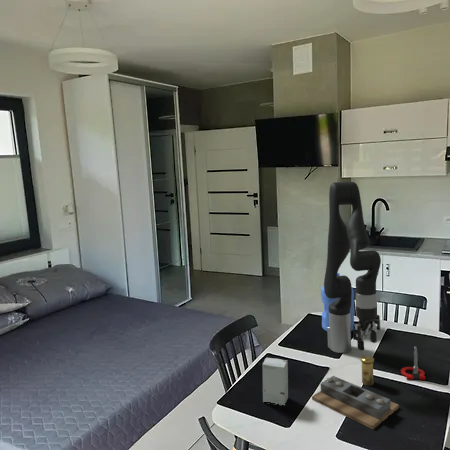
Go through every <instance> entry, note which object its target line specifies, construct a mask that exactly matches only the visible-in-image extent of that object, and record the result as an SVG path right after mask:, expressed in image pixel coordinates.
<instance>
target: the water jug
mask: <svg viewBox="0 0 450 450" xmlns="http://www.w3.org/2000/svg"><path fill="white" fill-rule="evenodd" d="M340 274H341V273H340V272H338V273H337V276H341V275H340ZM320 297H321V303H322V304H323V312H322V314H321V328H322V329H323V330H324V331H325V332H327V328H328V327H329V305H330V304H331V303H333V302H334V301H335V300H337V298H333V299H330V298H328V297H327V296H326V295H325V292H324V285H322V286H321V287H320ZM354 297H355V296H354V288H353V287H352V297H351V308H350V320H351V332H353V325H354V324H355V317H354V316H355V307H354V306H355V305H354V303H355V302H354Z"/></svg>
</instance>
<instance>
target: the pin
mask: <svg viewBox="0 0 450 450" xmlns="http://www.w3.org/2000/svg"><path fill="white" fill-rule="evenodd" d="M360 362H361V383H362V384H363V385H364V386H369V387H370V386H373V385H374V363H375V358H374V357H373V356H370V355H362V356H360Z"/></svg>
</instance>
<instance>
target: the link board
mask: <svg viewBox="0 0 450 450" xmlns="http://www.w3.org/2000/svg"><path fill="white" fill-rule="evenodd" d="M311 399H312V401H314V402H316V403H318V404H320V405H322V406H324V407H326V408H328V409H330V410H333V411H335V412H336V413H338V414H341V415H342V416H345V417H347V418H349V419H351V420H353V421H354V422H357V423H359V424H360V425H362V426H365V427H367V428H369V429H371V430H375V429H376V428H377V427H378V426H379V425H380V424H382V423H383V422H384V421H385V420H386V419H388V418H389V417H390V416H391V415H392V414H393V413H394V411H395V412H396V411H398V409H399V407H400V405H399V404H398V403H395V402H394V401H391V399H390V398H388V397H385V396H383V395H380V394H378V393H376V392H373V391H371V390H368V389H366V388H364V387H361V386H358V385H357V384H353V383H352V382H349V381H346V380H345V379H342V378H340V377H337V376H336V375H332V376H330V377H327V378H326V380H324V381H322V382H321V383H320V390H319V391H318V392H317V393H315V394H313V395H312V396H311ZM389 415H390V416H389ZM388 416H389V417H388ZM382 421H383V422H382Z"/></svg>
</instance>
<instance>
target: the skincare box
mask: <svg viewBox="0 0 450 450" xmlns="http://www.w3.org/2000/svg"><path fill="white" fill-rule="evenodd" d="M288 361H289V360H287V359H280V358H272V357H266V358H265V359H264V361H263V362H262V402H263V403H264V402H271V403H275V404H274V405H277V404H279V405H278V406H282V405H284V406H283V407H285V406H286V404H285V403H287V401H288V399H289V377H288V376H289V367H288V366H289V365H288V364H289V363H288Z"/></svg>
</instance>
